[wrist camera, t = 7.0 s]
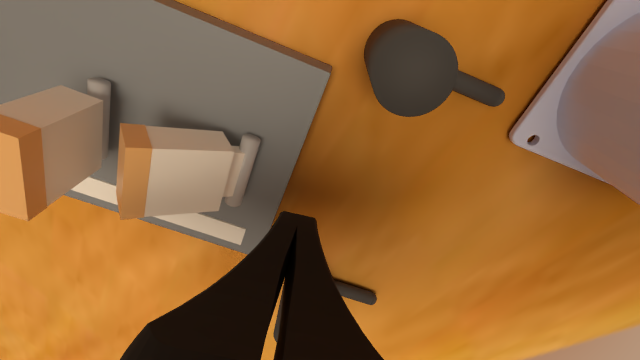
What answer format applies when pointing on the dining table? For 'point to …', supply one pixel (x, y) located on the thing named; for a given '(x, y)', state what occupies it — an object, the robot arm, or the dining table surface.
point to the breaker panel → (171, 92)
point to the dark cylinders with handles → (412, 88)
